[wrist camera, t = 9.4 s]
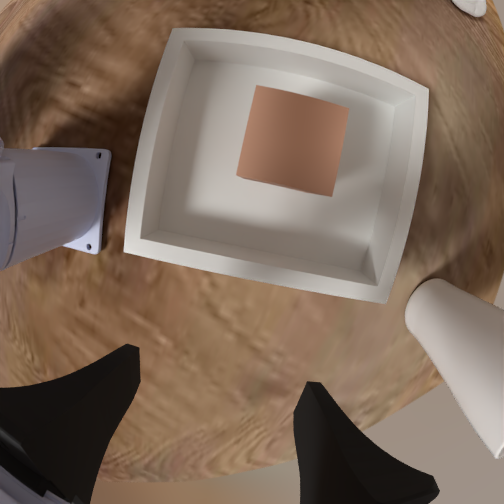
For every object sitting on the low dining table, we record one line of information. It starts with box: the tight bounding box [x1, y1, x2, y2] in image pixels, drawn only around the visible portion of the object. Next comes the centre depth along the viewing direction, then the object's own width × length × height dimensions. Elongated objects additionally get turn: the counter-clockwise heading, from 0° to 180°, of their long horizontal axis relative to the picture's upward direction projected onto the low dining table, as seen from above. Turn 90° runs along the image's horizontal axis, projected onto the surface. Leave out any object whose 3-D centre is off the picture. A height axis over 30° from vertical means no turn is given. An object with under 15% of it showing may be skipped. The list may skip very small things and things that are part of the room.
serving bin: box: [124, 28, 429, 304], centre depth 15 cm, size 16×14×4 cm
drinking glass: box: [405, 278, 504, 459], centre depth 12 cm, size 7×7×15 cm
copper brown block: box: [236, 85, 349, 197], centre depth 13 cm, size 4×4×6 cm
